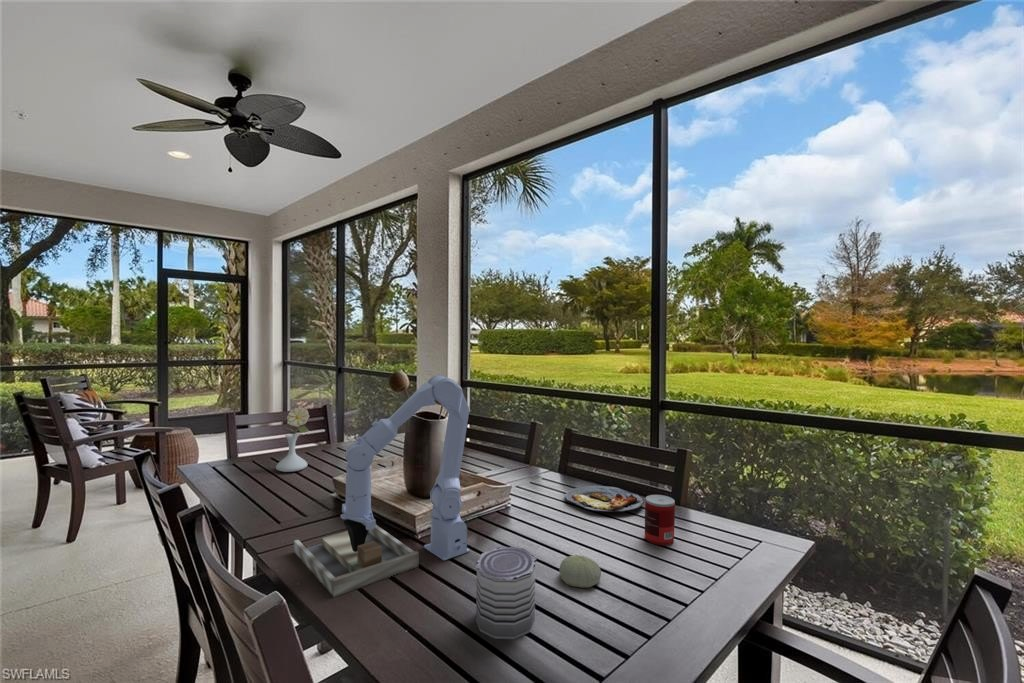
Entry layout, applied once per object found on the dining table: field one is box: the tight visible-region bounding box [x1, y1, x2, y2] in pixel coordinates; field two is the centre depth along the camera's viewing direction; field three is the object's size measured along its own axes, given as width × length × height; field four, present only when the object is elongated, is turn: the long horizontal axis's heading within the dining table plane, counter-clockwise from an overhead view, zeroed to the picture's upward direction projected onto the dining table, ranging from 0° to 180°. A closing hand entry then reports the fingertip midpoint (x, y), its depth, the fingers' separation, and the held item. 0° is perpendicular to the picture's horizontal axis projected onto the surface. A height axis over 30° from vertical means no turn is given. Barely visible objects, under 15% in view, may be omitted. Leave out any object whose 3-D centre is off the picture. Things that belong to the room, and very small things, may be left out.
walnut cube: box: [357, 541, 382, 568], centre depth 109 cm, size 4×4×4 cm
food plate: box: [565, 485, 645, 513], centre depth 157 cm, size 25×23×4 cm
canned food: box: [644, 494, 676, 546], centre depth 129 cm, size 8×8×11 cm
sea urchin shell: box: [558, 554, 602, 589], centre depth 107 cm, size 9×8×8 cm
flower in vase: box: [275, 406, 310, 473], centre depth 187 cm, size 13×11×25 cm
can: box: [474, 546, 538, 640], centre depth 91 cm, size 11×11×12 cm
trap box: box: [293, 524, 420, 598], centre depth 115 cm, size 26×20×3 cm
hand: (357, 550), depth 114 cm, fingers closed
